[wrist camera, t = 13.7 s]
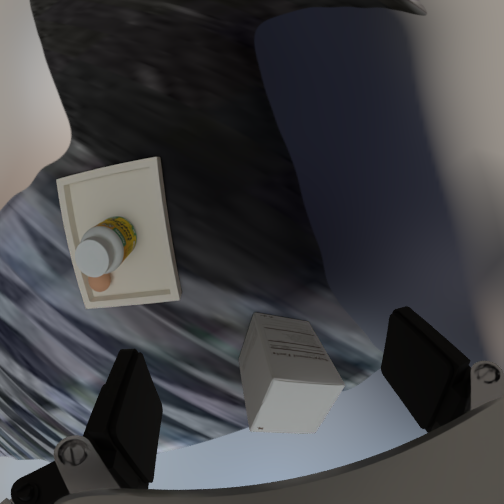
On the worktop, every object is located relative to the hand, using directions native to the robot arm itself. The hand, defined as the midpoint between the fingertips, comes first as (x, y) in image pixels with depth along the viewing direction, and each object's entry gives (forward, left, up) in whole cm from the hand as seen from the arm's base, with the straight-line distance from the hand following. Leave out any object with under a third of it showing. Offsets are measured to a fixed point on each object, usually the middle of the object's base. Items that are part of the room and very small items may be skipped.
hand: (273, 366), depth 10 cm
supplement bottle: (0, -15, -28) cm, 31 cm away
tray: (0, -15, -28) cm, 32 cm away
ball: (+5, -18, -28) cm, 34 cm away
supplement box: (+19, +4, -29) cm, 35 cm away
